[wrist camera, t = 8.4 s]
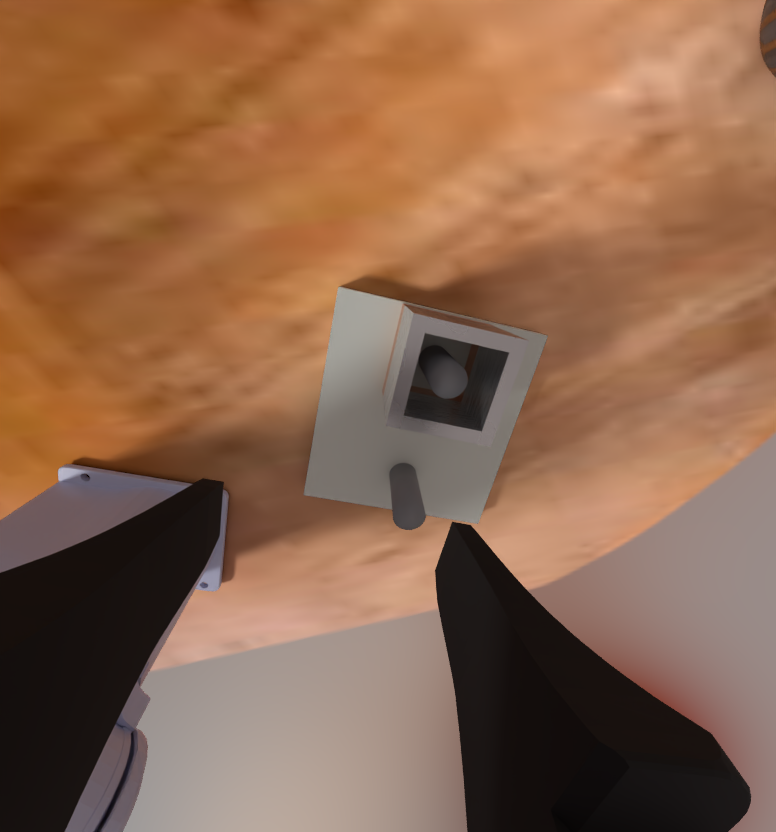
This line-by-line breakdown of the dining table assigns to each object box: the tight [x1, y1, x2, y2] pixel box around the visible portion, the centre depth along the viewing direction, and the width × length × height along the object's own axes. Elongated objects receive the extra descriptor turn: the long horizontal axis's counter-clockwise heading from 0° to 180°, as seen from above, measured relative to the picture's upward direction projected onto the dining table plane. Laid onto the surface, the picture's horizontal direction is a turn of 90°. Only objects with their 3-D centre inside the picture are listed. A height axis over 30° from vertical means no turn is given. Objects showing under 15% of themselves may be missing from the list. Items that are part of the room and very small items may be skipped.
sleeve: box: [382, 304, 529, 447], centre depth 17 cm, size 5×5×5 cm
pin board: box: [304, 286, 548, 530], centre depth 19 cm, size 11×12×5 cm
